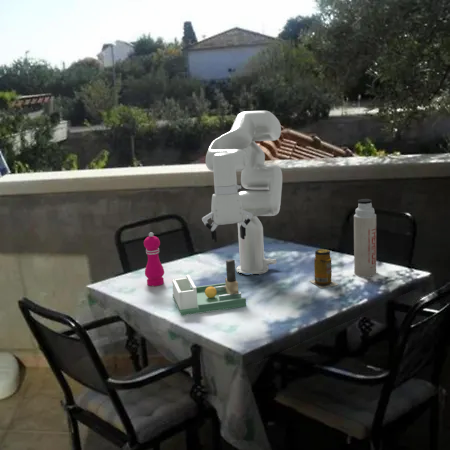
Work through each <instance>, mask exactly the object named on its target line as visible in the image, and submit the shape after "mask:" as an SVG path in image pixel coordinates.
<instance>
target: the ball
mask: <svg viewBox="0 0 450 450" xmlns="http://www.w3.org/2000/svg"><path fill="white" fill-rule="evenodd" d="M216 294H217V291H216V289H215V288H214V287H211V286H210V287H208V288H206V290H205V295H206V296H207V297H208V298H214V297H215V296H216Z"/></svg>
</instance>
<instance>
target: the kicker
mask: <svg viewBox="0 0 450 450" xmlns="http://www.w3.org/2000/svg"><path fill="white" fill-rule="evenodd" d="M225 267H226V278H225V277H224V280H225V282H224V283H226V292H227V294H233V293H239V282H238V281H237V279H236V278H237V277H236V276H237V275H236V261H235V259H227V260H225Z"/></svg>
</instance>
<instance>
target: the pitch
mask: <svg viewBox="0 0 450 450" xmlns="http://www.w3.org/2000/svg"><path fill="white" fill-rule="evenodd" d="M225 285H226V283H225V282H221V283H220V282H219V283H214V284H206V285H198V286H196V289H197V303H198V307H197V308H190V309H183V310H180V309H179V307H178V305H177V302H176V300H175V298H174V296H173V295H172V298H173V301H174V302H175V305H176V307H177V309H178V312H179V313H180V316H181V315H182V316H187V315H194V314H202V313H208V312H209V313H210V312H216V311H222V310H228V309H235V308H243V307H247V298H246V297H243V296H241V298H238V299H231V300H224V301H219V295H226V294H227V292H219V293H217V294H216V296H215V297H214V298H208V297H207V296H206V295H205V290H206V288H208V287H210V286H211V287H218V286H225ZM190 290H193V289H192V287H191V286H190Z"/></svg>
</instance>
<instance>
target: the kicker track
mask: <svg viewBox="0 0 450 450" xmlns="http://www.w3.org/2000/svg"><path fill="white" fill-rule="evenodd" d="M214 288H215V289H216V291H217V293H219V292H226V285H225V286H218V287H214ZM241 297H242V292H241V291H239V292H238V293H233V294H226V295H219V301H224V300H231V299H238V298H241Z"/></svg>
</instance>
